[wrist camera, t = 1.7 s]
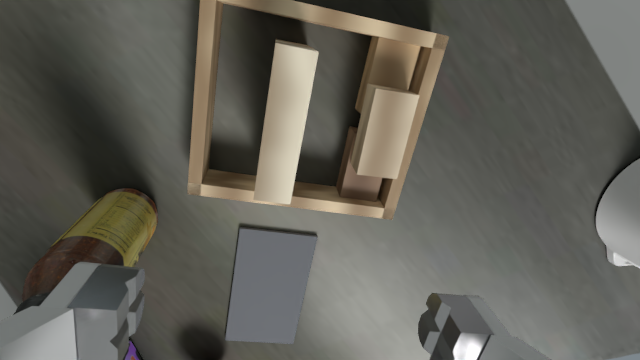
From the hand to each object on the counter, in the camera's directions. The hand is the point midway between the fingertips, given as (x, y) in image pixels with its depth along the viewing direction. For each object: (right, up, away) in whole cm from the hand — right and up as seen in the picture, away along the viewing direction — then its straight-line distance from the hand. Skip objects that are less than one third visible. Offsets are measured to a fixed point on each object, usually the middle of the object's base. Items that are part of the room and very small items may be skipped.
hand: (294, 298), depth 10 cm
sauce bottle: (-19, 0, +28) cm, 34 cm away
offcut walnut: (+5, +6, +29) cm, 30 cm away
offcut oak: (+7, +14, +26) cm, 30 cm away
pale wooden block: (-3, +11, +26) cm, 28 cm away
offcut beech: (+7, +9, +25) cm, 27 cm away
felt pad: (-6, -10, +34) cm, 36 cm away
